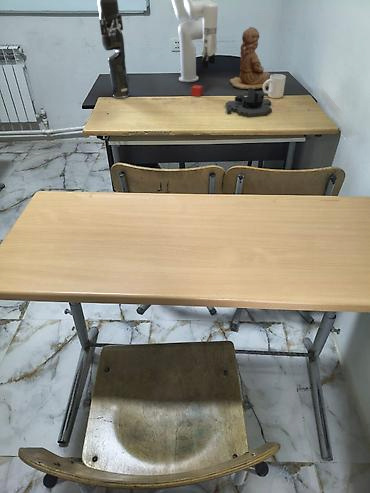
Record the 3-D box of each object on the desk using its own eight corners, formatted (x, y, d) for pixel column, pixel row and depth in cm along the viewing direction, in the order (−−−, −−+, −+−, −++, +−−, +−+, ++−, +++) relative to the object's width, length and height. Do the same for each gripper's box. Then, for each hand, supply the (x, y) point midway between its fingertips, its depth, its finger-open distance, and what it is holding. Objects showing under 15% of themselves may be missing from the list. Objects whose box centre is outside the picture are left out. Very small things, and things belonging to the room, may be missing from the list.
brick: (199, 96, 202) (199, 88, 199) (191, 95, 203) (191, 87, 201) (202, 94, 205) (202, 85, 202) (194, 93, 207) (194, 85, 204)
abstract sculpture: (232, 99, 169) (222, 86, 184) (231, 118, 175) (221, 105, 190) (283, 94, 172) (268, 83, 187) (280, 114, 178) (266, 101, 193)
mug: (263, 99, 195) (266, 79, 188) (259, 94, 201) (261, 75, 194) (285, 97, 196) (288, 77, 189) (279, 93, 202) (282, 73, 196)
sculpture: (274, 90, 207) (281, 30, 187) (232, 91, 207) (235, 31, 188) (266, 76, 228) (272, 21, 208) (228, 77, 228) (231, 23, 209)
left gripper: (106, 2, 143) (113, 48, 153) (124, -2, 153) (129, 41, 163) (91, 2, 145) (98, 47, 156) (109, -2, 155) (115, 40, 166)
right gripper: (210, 35, 183) (208, 70, 194) (222, 28, 194) (220, 62, 206) (196, 33, 185) (196, 69, 197) (209, 27, 197) (208, 60, 208)
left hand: (114, 44), depth 160 cm, fingers open, 8 cm apart
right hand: (208, 65), depth 201 cm, fingers open, 9 cm apart
